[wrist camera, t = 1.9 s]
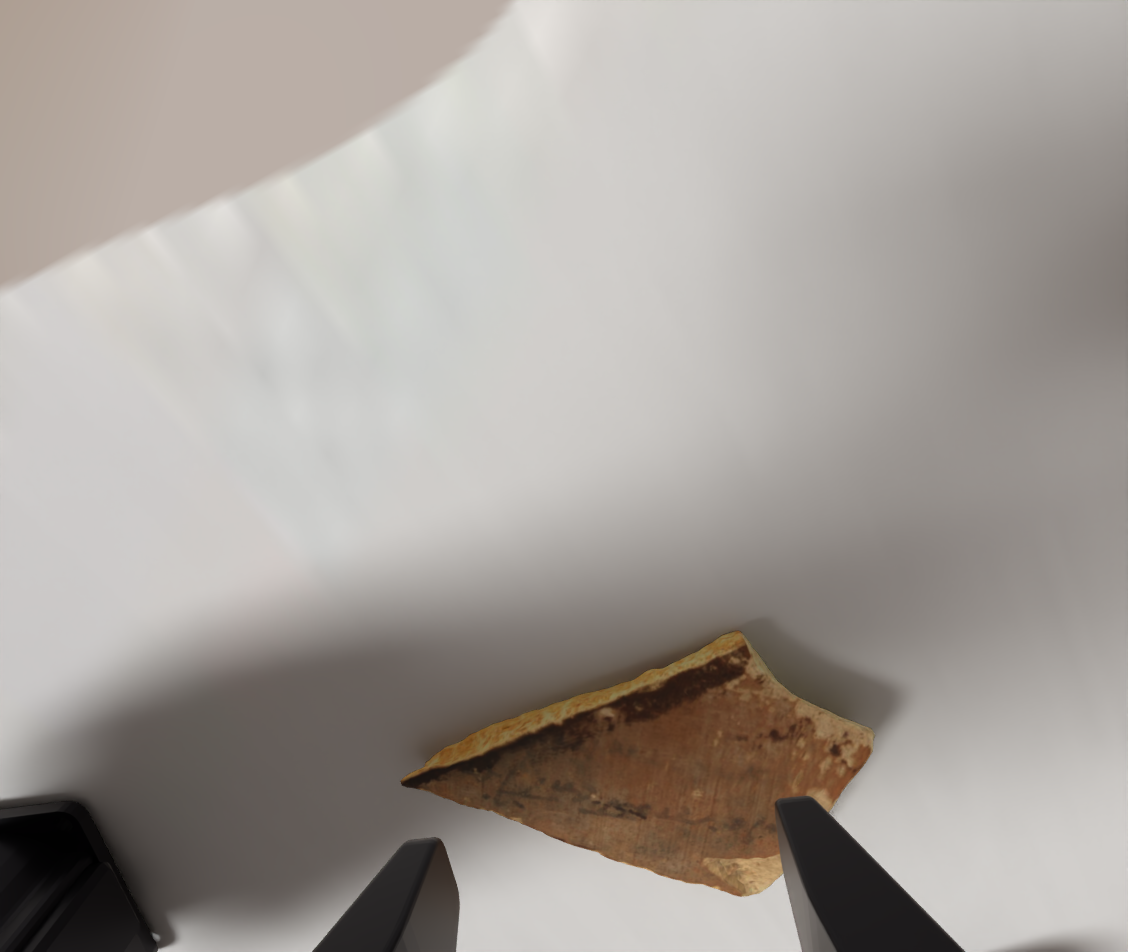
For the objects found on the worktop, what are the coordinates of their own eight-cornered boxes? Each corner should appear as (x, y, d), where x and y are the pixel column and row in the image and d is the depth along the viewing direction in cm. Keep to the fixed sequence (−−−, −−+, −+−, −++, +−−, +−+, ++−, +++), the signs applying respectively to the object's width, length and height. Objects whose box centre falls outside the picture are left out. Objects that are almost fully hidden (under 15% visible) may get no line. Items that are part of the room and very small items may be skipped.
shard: (412, 747, 21) (395, 793, 19) (502, 526, 19) (492, 556, 17) (749, 868, 22) (761, 922, 20) (878, 671, 19) (904, 714, 18)
